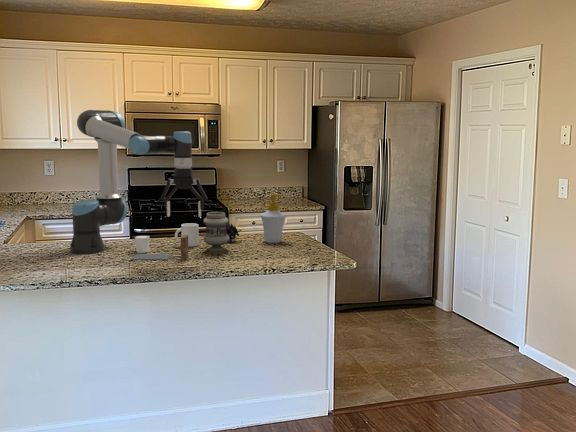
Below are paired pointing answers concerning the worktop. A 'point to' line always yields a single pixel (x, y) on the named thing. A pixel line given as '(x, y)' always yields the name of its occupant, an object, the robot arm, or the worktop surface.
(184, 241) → the walnut slab
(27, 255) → the worktop surface
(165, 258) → the rubber mat
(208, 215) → the apothecary jar
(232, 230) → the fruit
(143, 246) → the white cup
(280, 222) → the soap bottle
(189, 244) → the mug
